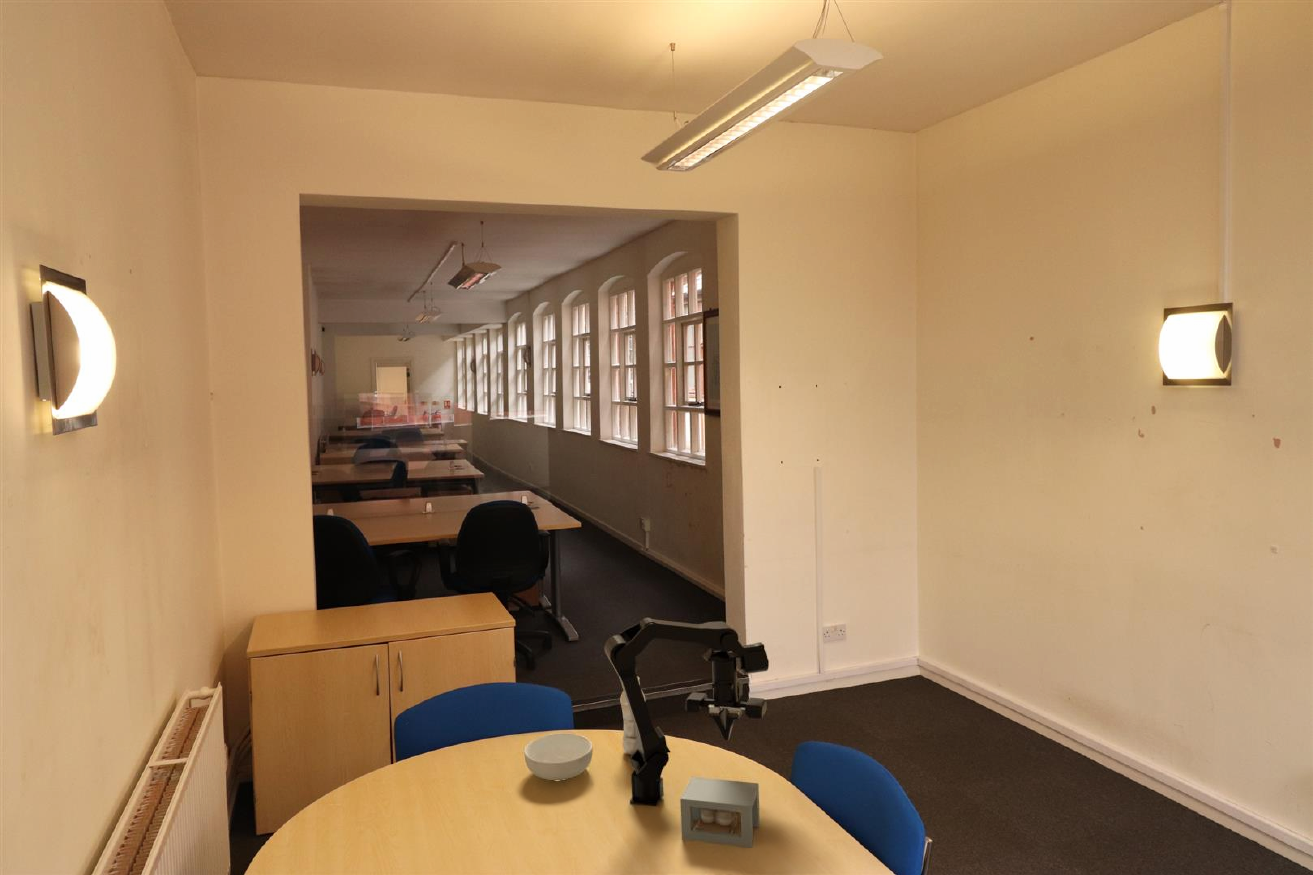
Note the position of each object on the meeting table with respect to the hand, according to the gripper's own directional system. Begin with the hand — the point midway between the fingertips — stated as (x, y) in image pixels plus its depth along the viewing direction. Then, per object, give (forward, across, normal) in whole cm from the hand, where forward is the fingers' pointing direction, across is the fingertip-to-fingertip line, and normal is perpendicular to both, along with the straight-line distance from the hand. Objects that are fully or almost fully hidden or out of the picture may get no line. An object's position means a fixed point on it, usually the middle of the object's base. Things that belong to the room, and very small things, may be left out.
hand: (726, 739), depth 207 cm
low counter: (+11, -4, +20) cm, 24 cm away
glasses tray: (+11, -3, +15) cm, 19 cm away
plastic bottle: (+11, +28, -10) cm, 31 cm away
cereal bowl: (+11, +42, +6) cm, 44 cm away
